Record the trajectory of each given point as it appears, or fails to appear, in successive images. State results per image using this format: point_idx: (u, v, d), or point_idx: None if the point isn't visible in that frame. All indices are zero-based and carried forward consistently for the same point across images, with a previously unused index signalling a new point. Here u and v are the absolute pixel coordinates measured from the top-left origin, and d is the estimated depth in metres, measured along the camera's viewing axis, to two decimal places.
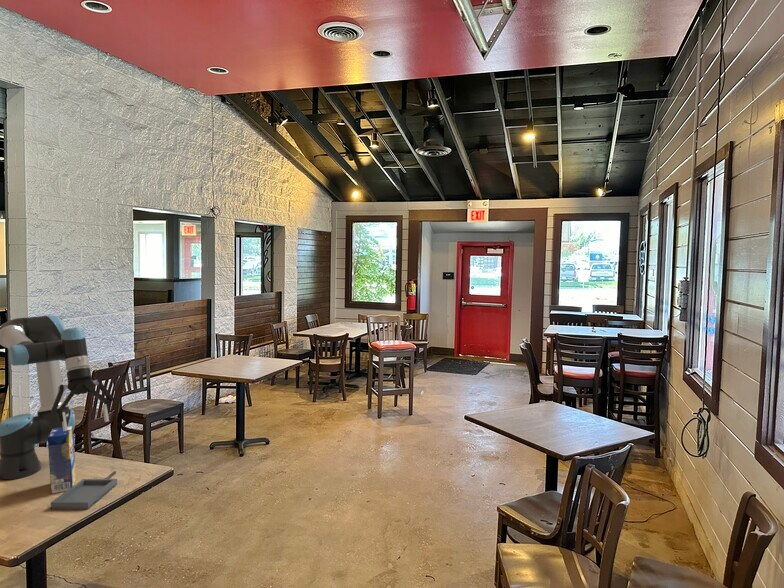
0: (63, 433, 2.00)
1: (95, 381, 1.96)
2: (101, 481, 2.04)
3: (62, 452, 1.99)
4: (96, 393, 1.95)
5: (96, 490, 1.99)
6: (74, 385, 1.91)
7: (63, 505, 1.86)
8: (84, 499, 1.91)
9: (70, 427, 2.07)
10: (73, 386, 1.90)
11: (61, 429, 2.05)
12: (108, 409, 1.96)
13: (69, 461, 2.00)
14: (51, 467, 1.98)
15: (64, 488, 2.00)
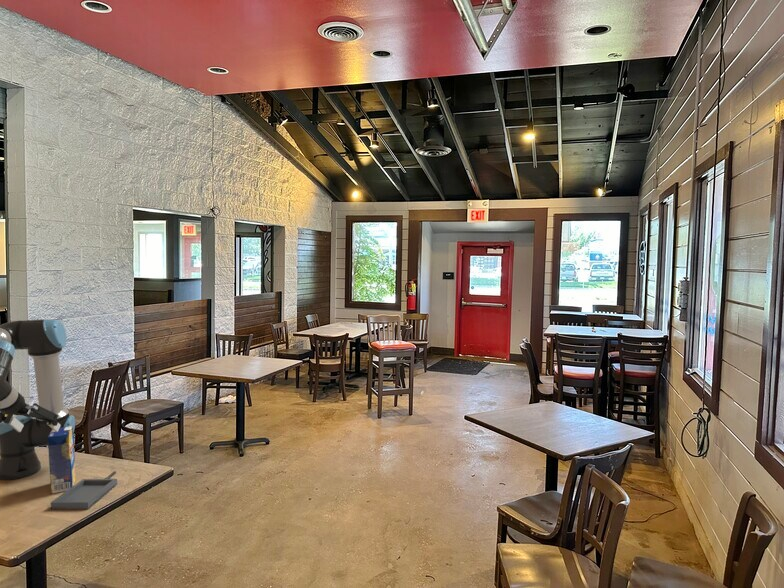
0: (63, 433, 2.00)
1: (29, 408, 1.79)
2: (101, 481, 2.04)
3: (62, 452, 1.99)
4: (34, 417, 1.81)
5: (96, 490, 1.99)
6: None
7: (63, 505, 1.86)
8: (84, 499, 1.91)
9: (70, 427, 2.07)
10: None
11: (61, 429, 2.05)
12: (54, 424, 1.87)
13: (69, 461, 2.00)
14: (51, 467, 1.98)
15: (64, 488, 2.00)
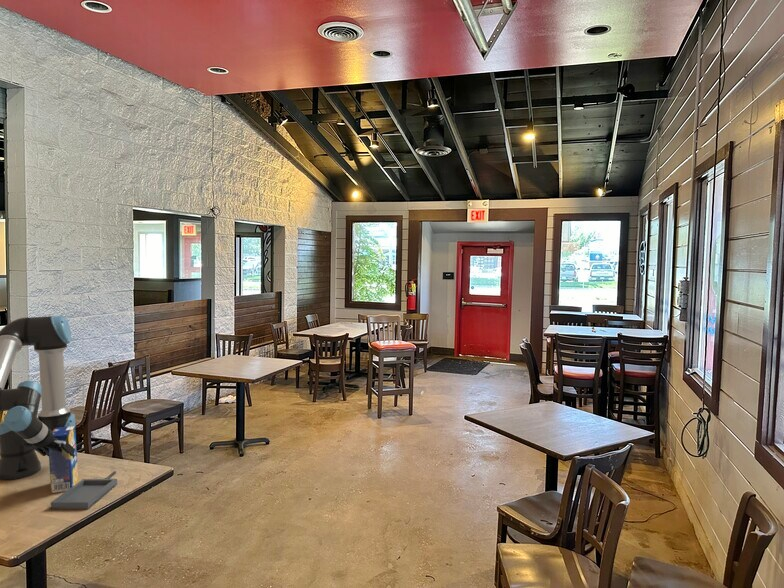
0: (63, 433, 2.00)
1: (59, 443, 1.94)
2: (101, 481, 2.04)
3: (61, 452, 1.99)
4: (58, 450, 1.98)
5: (96, 490, 1.99)
6: None
7: (63, 505, 1.86)
8: (84, 499, 1.91)
9: (72, 427, 2.07)
10: None
11: (63, 429, 2.05)
12: None
13: (69, 461, 2.00)
14: (51, 466, 1.98)
15: (64, 488, 2.00)
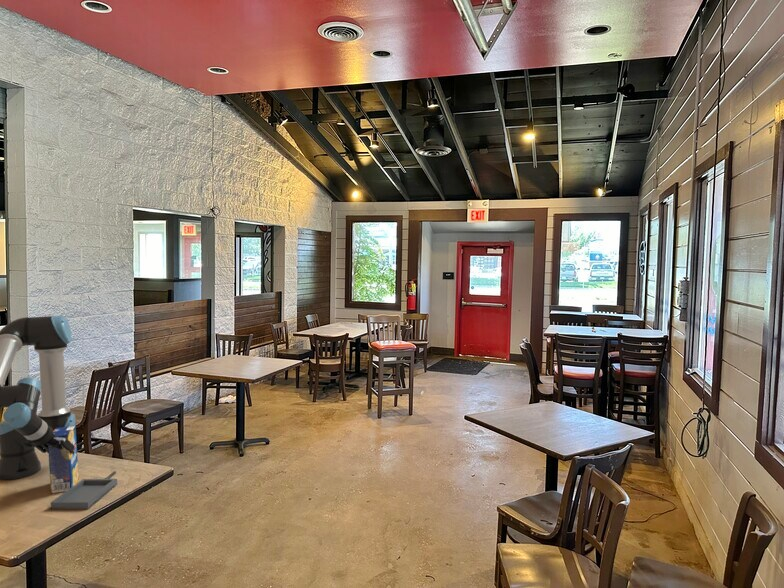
0: (63, 433, 2.00)
1: (58, 440, 1.94)
2: (101, 481, 2.04)
3: (61, 452, 1.98)
4: (57, 447, 1.97)
5: (96, 490, 1.99)
6: None
7: (63, 505, 1.86)
8: (84, 499, 1.91)
9: (72, 427, 2.07)
10: None
11: (63, 429, 2.05)
12: None
13: (68, 461, 2.00)
14: (51, 466, 1.98)
15: (64, 488, 2.00)
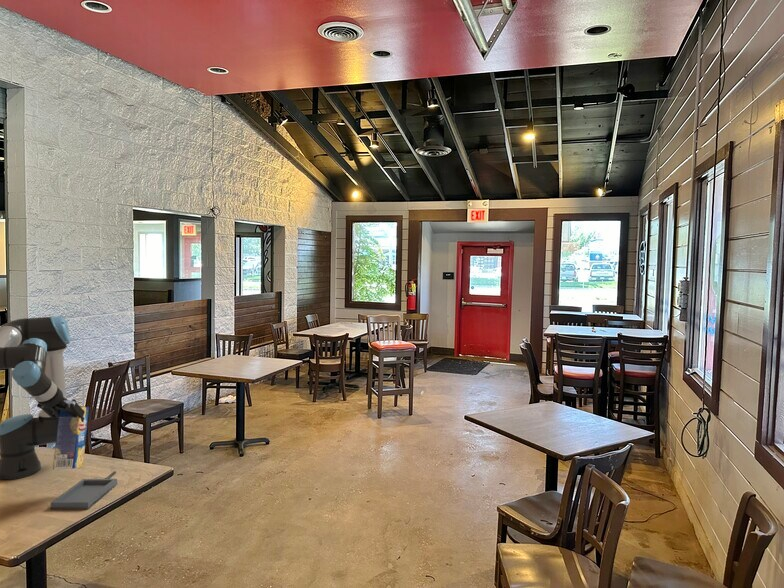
0: None
1: (68, 403, 1.88)
2: (101, 481, 2.04)
3: (70, 425, 1.93)
4: (67, 411, 1.91)
5: (96, 490, 1.99)
6: None
7: (63, 505, 1.86)
8: (84, 499, 1.91)
9: (85, 407, 2.03)
10: None
11: None
12: None
13: (76, 436, 1.93)
14: (58, 440, 1.91)
15: (66, 465, 1.90)
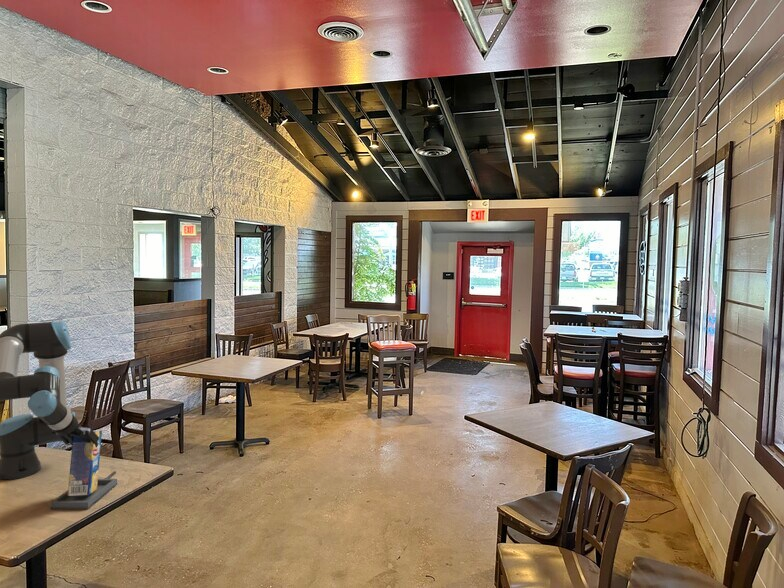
0: None
1: (83, 430, 1.86)
2: (101, 481, 2.04)
3: (84, 451, 1.91)
4: (81, 438, 1.89)
5: (96, 490, 1.99)
6: None
7: (63, 505, 1.86)
8: (84, 499, 1.91)
9: (98, 430, 2.01)
10: None
11: None
12: None
13: (90, 462, 1.91)
14: (72, 466, 1.89)
15: (81, 491, 1.89)
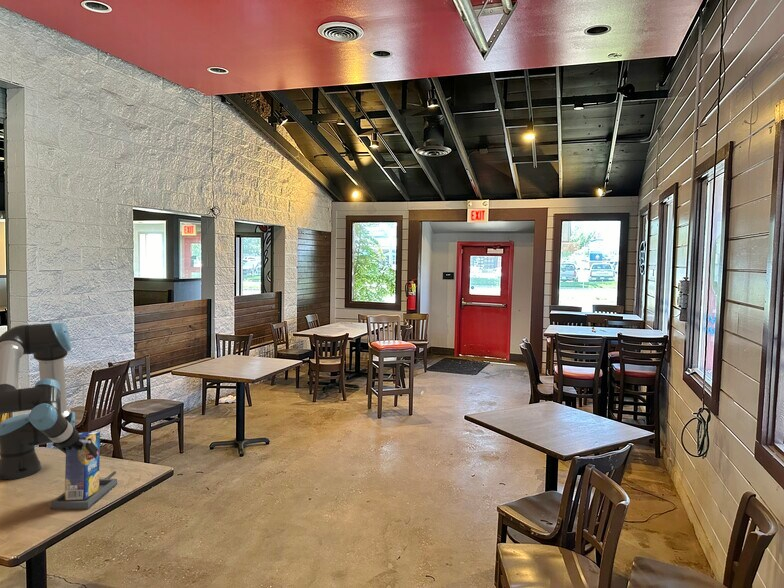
0: (83, 436, 1.92)
1: (84, 442, 1.87)
2: (101, 481, 2.04)
3: (78, 456, 1.89)
4: None
5: None
6: None
7: (63, 505, 1.86)
8: (84, 499, 1.91)
9: (95, 432, 1.98)
10: None
11: (86, 433, 1.97)
12: None
13: (84, 467, 1.89)
14: (67, 470, 1.88)
15: (77, 496, 1.88)
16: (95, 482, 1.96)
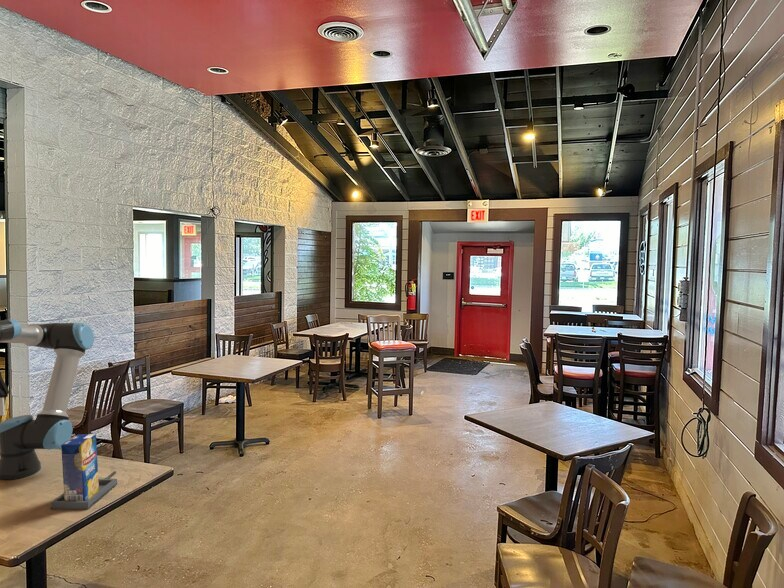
0: (78, 442, 1.88)
1: None
2: (101, 481, 2.04)
3: (74, 462, 1.87)
4: None
5: None
6: None
7: (63, 505, 1.86)
8: None
9: (91, 435, 1.95)
10: None
11: (82, 436, 1.94)
12: None
13: (81, 473, 1.87)
14: (65, 476, 1.87)
15: (77, 500, 1.88)
16: (94, 484, 1.96)
